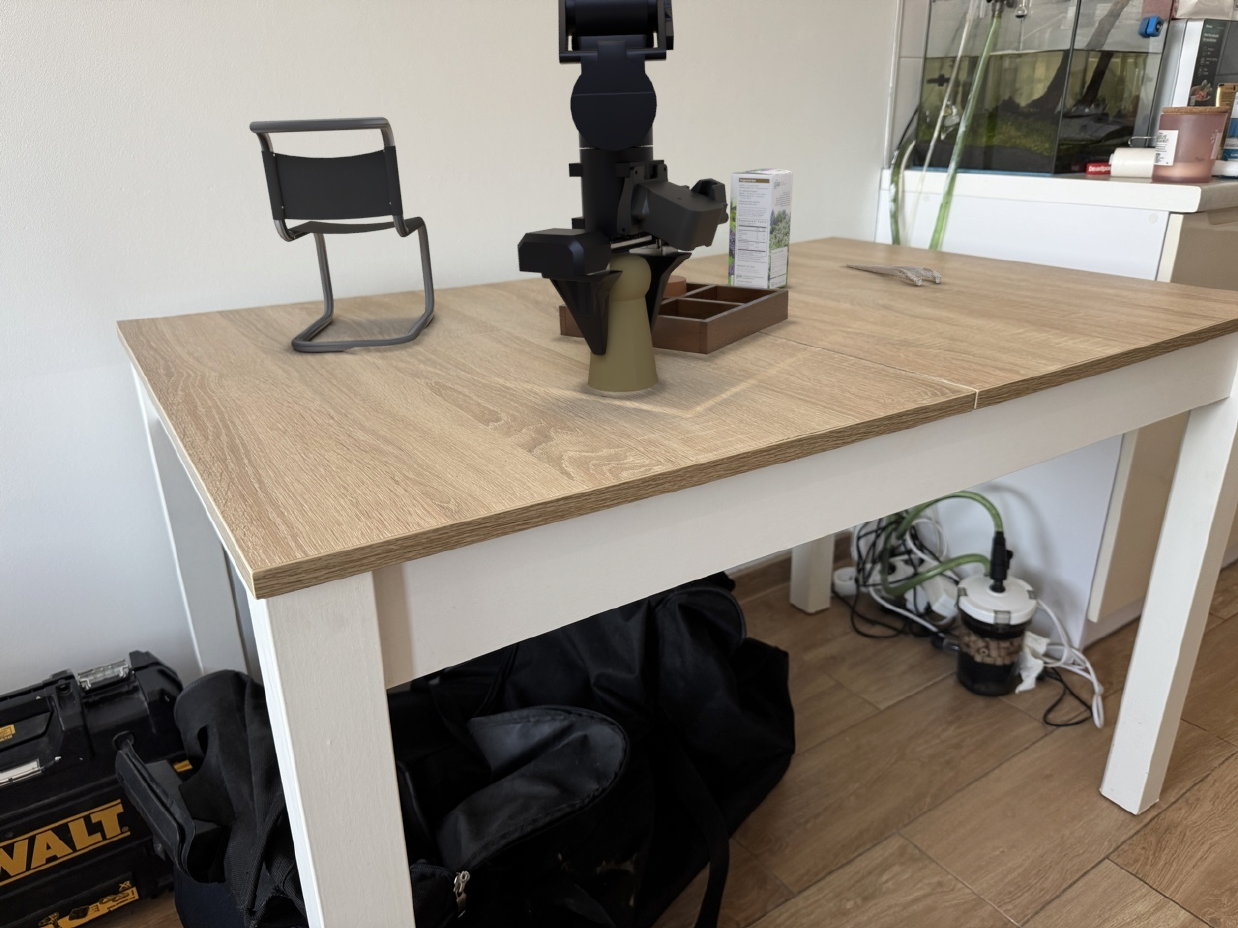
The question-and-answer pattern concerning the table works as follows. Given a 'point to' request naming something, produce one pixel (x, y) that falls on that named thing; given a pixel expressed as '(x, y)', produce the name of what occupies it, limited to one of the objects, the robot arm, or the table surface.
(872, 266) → the grey long forked piece
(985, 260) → the table surface
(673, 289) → the tin
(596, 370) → the olive peg figure
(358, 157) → the chair
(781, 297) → the tray
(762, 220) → the syrup box
